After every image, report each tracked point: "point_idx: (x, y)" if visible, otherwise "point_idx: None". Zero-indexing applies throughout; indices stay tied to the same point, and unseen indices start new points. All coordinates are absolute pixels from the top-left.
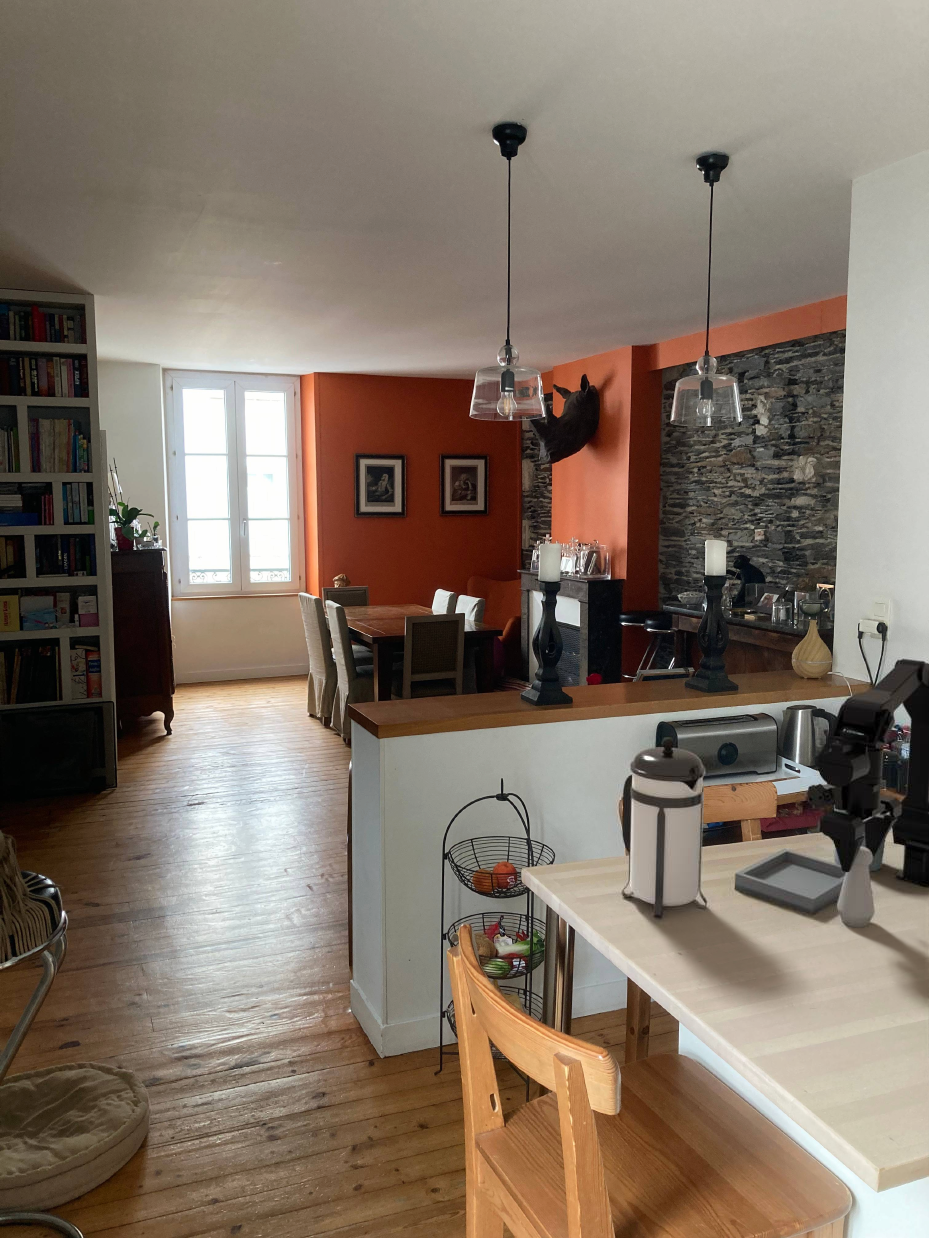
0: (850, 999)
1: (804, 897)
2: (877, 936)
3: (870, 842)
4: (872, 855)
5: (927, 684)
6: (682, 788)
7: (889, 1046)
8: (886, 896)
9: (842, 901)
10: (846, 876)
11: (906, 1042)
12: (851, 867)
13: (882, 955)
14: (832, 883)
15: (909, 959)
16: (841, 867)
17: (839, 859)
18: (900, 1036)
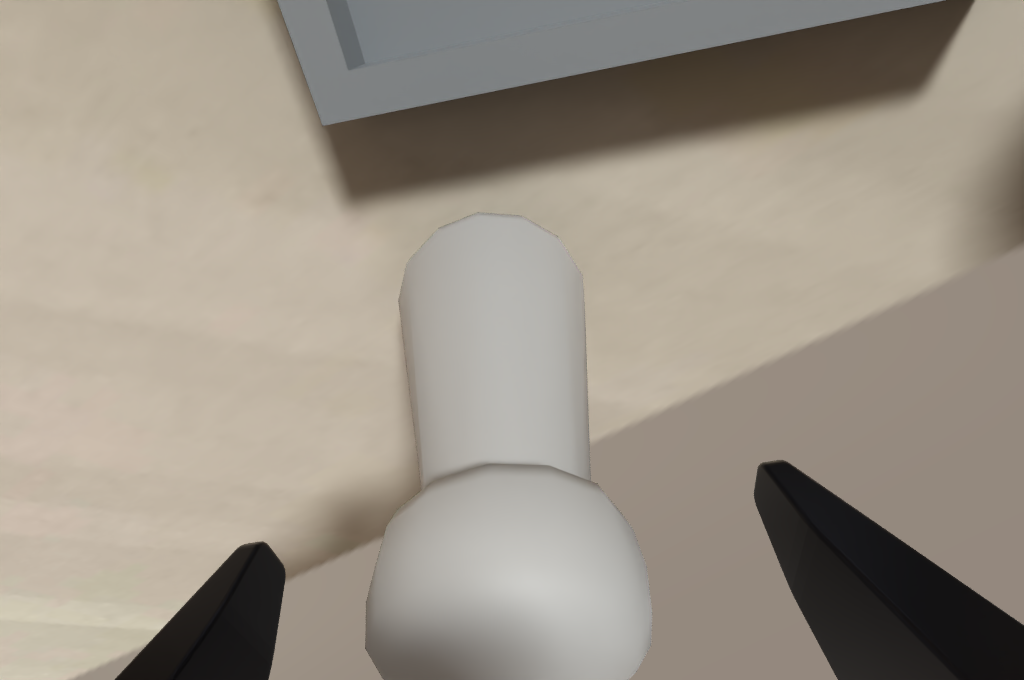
0: (50, 549)
1: (297, 50)
2: None
3: (853, 625)
4: (762, 514)
5: None
6: None
7: (32, 651)
8: (911, 173)
9: (406, 306)
10: (418, 406)
11: (84, 654)
12: (275, 627)
13: (350, 463)
14: (689, 9)
15: None
16: (219, 569)
17: (134, 663)
18: (85, 643)
